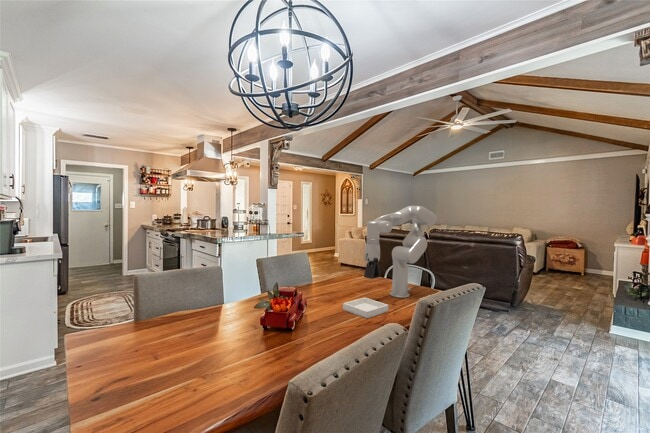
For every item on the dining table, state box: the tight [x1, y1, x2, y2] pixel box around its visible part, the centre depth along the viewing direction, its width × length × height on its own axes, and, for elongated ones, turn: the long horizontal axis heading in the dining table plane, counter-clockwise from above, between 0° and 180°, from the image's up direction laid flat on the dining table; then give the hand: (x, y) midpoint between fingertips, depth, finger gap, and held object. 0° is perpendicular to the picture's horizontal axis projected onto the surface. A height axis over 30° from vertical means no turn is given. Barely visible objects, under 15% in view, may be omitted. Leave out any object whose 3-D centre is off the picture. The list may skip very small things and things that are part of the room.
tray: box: [342, 296, 390, 320], centre depth 164 cm, size 18×17×4 cm
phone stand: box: [363, 258, 382, 280], centre depth 181 cm, size 9×6×12 cm, turn 131°
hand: (372, 271), depth 182 cm, fingers closed on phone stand, 1 cm apart
